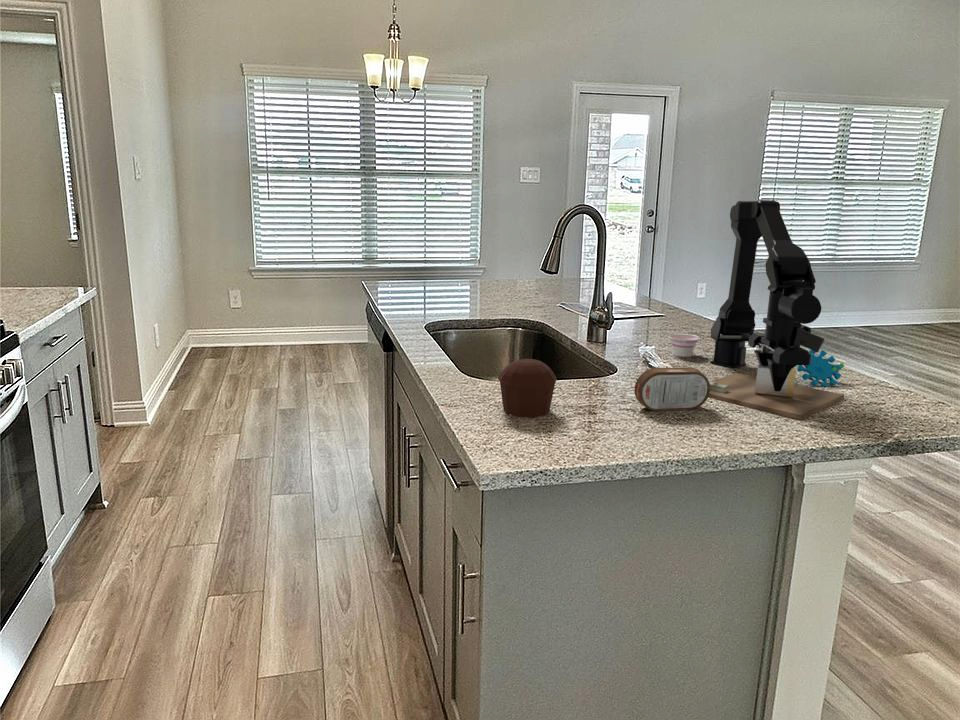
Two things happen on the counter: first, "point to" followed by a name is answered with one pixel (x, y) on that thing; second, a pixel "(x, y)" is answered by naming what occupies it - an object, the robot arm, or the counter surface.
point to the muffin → (527, 388)
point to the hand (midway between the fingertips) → (773, 388)
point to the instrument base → (771, 397)
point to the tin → (672, 389)
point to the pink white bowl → (683, 344)
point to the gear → (821, 369)
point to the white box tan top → (766, 385)
